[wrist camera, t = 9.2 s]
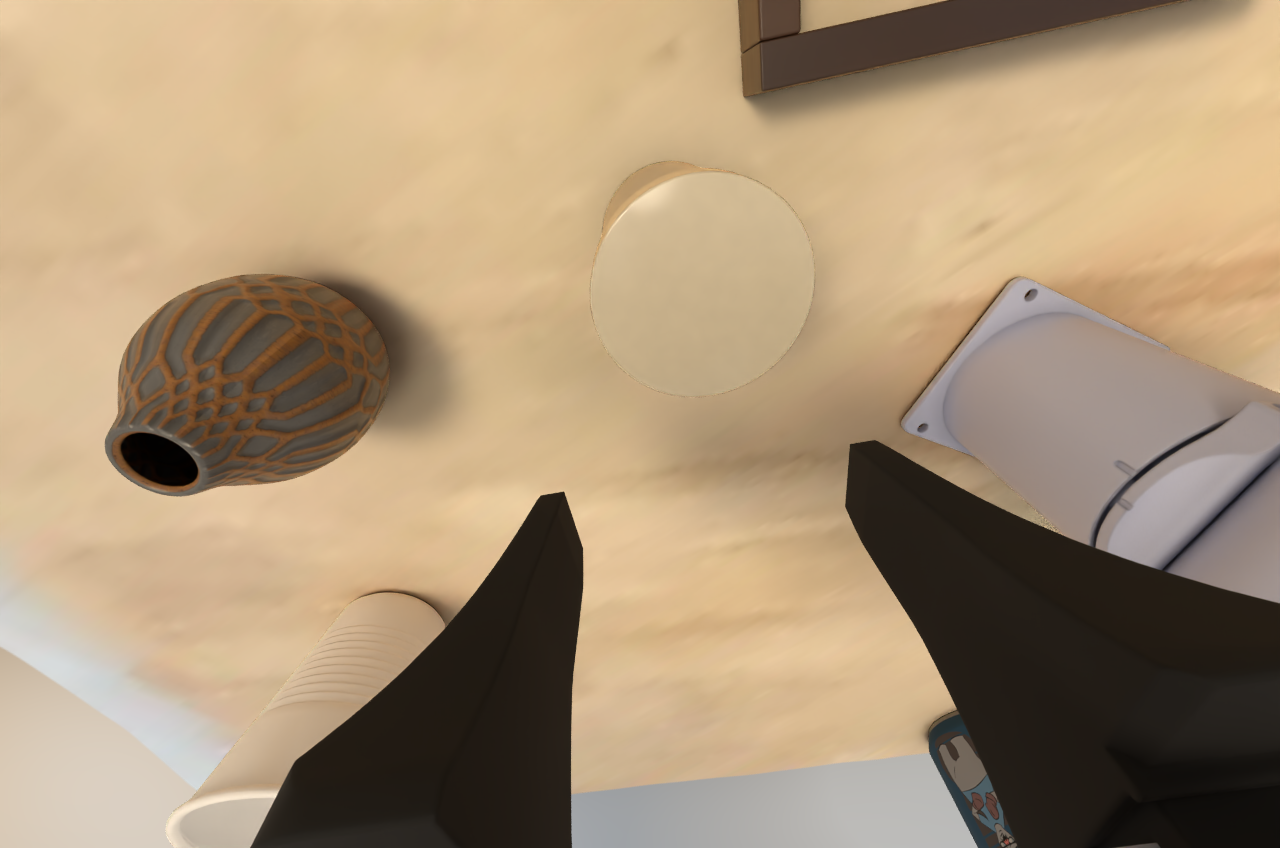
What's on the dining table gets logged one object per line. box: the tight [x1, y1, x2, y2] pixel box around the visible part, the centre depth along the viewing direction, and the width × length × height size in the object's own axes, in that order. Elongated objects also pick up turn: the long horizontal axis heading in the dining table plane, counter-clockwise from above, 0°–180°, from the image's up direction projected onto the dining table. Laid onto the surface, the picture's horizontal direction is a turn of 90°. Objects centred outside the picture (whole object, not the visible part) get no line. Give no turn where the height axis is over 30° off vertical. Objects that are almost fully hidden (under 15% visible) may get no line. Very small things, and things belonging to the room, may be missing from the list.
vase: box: [105, 274, 390, 496], centre depth 16 cm, size 7×7×9 cm
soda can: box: [929, 711, 1018, 848], centre depth 35 cm, size 7×7×12 cm
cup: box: [166, 592, 446, 848], centre depth 25 cm, size 10×10×11 cm
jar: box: [590, 161, 815, 397], centre depth 15 cm, size 6×6×8 cm
